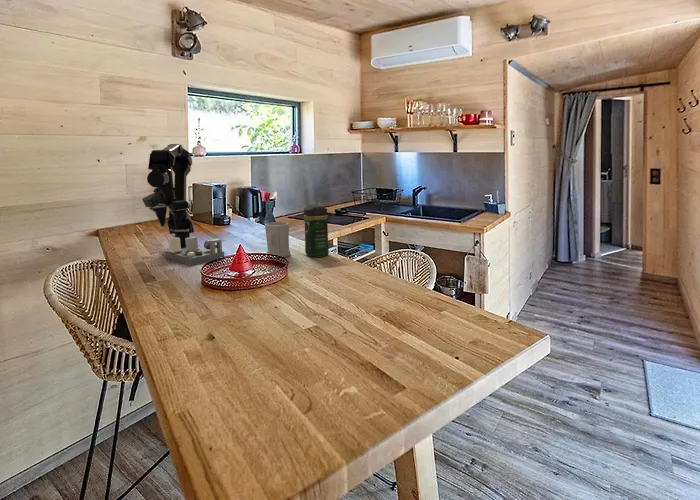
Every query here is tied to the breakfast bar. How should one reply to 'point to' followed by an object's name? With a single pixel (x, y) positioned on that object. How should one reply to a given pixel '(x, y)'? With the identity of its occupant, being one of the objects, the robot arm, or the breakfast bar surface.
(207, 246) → the plunger
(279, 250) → the cup
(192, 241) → the white stepped block
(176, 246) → the cream flanged block
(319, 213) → the coffee jar
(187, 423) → the breakfast bar surface
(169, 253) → the console
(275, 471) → the breakfast bar surface
